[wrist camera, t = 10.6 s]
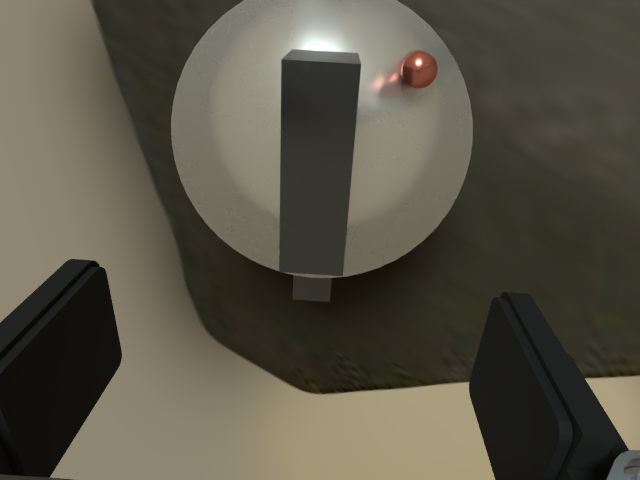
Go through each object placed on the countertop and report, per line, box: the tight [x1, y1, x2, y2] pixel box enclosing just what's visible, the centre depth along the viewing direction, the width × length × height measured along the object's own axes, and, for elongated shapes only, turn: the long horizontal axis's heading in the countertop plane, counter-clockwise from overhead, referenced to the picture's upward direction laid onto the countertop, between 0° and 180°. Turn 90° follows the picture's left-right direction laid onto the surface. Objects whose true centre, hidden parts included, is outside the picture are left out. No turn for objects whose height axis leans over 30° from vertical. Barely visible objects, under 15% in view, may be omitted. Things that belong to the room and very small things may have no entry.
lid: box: [171, 0, 473, 278], centre depth 23 cm, size 16×16×6 cm
